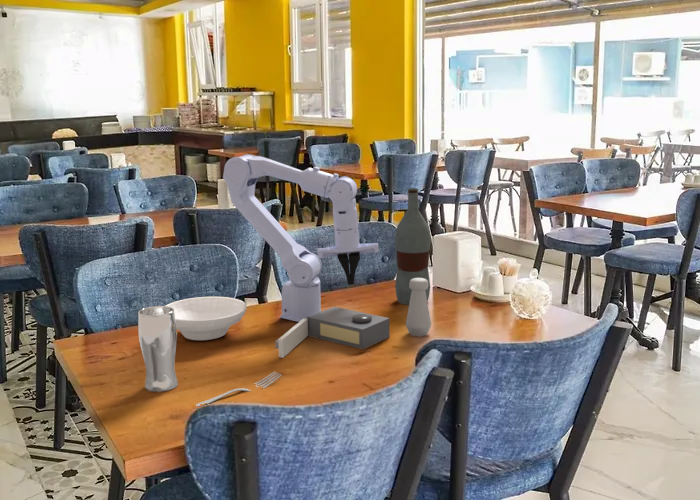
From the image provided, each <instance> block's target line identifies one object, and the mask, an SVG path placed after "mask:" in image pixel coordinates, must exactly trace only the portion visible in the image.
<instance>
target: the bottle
mask: <svg viewBox="0 0 700 500" xmlns="http://www.w3.org/2000/svg"><path fill="white" fill-rule="evenodd" d="M430 232H431V230H430V226H429V225H428V223H427V222H426V219H425V218H424V216H423V215H422V213H421V212H420V209H419V189H418V188H417V187H416V188H414V187H412V188H411V187H409V188H408V189H407V210H406V211H405V213H404V214H403V216H402V217H401V219H400V221H399V223H398V224H397V227H396V231H395V238H394V239H395V240H394V242H395V243H394V244H395V251H396V265H397V267H396V269H397V271H396V276H395V285H394V288H395V296H396V300H397V302H398V303H400V304H402V305H406V306H409V303H410V298H411V292H412V289H410V287H409V283H410V280H411V279H413V278H424V279H426V280H427V281H428V289H426V290H425V291H426V298H427V302H428V301H429V298H430V295H431V293H430V291H431V280H430V274H429V263H430V262H429V261H430V251H431V250H430V248H431V233H430Z"/></svg>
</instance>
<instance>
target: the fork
mask: <svg viewBox="0 0 700 500" xmlns="http://www.w3.org/2000/svg"><path fill="white" fill-rule="evenodd" d="M280 377H282V374H280V373H278V372H276V371H273V372H272V373H270V374H269V375H267V376H265V377H264V378H262V379H260V380H258V381H257V382H255V383H254V384H256V386H255V387H257V388H258V387H259V386H261V388H262V386H263V389H266V388H267V387H269V386H271V384H273V383H274V382H276V381H277V380H278V379H279V378H280ZM257 385H259V386H257ZM245 388H246V387H243V388H240V387H239V388H235V389H232V390H229V391H226V392H225V393H221V394H218V395H217V396H214V397H212V398H210V399H206V400H204V401H201V402H199V403H196V406H200V404H204V403H207V405H209V404H211V403H213V402H215V401H217V400H219V399H221V398H223V397H226V396H229V395H230V394H232V393H235V392H238V391H240V392H241V391H244V392H251V391H250V390H251V389H249V388H247V389H245ZM248 389H249V390H248Z"/></svg>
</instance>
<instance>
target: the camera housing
mask: <svg viewBox="0 0 700 500" xmlns="http://www.w3.org/2000/svg"><path fill="white" fill-rule="evenodd" d="M307 318H308V336H307V337H311V338H316V339H320V340H323V341H327V342H332V343H335V344H340V345H345V346H349V347H353V348H356V349H360V350H364V349H367V348H370V347H371V346H373V345H376V344H377V343H380V342H382V341H384V340H386V339H388V338H390V317H385V316H381V315H380V316H379V315H376V314H372V313H366V312H362V311H357V310H351V309H348V308H342V307H337V306H333V307H330V308H327V309H323V310H321V312H318V313H316V314H313V315H310V316H308V317H307Z"/></svg>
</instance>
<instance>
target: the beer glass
mask: <svg viewBox="0 0 700 500" xmlns="http://www.w3.org/2000/svg"><path fill="white" fill-rule="evenodd" d="M137 314H138V315H137V316H138V317H137V318H138V321H137V322H138V323H137V324H138V325H137V326H138V330H137V331H138V340H139V346H140V349H141V353H142V357H143V361H144V365H145V381H144V388H145V389H146V391H148V392H151V393H153V392H154V393H163V392H167V391H171V390H173V389H176V388H177V387H178V384H179V382H178V379H177V374H176V368H175V361H176V360H175V359H176V350H177V341H178V340H177V339H178V332H177V331H178V330H177V328H176V320H175V314H174V309H173V308H172V307H168V306H166V305H154V306H149V307H148V306H147V307H144V308H142V309H140V310H139V311H138V312H137Z"/></svg>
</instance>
